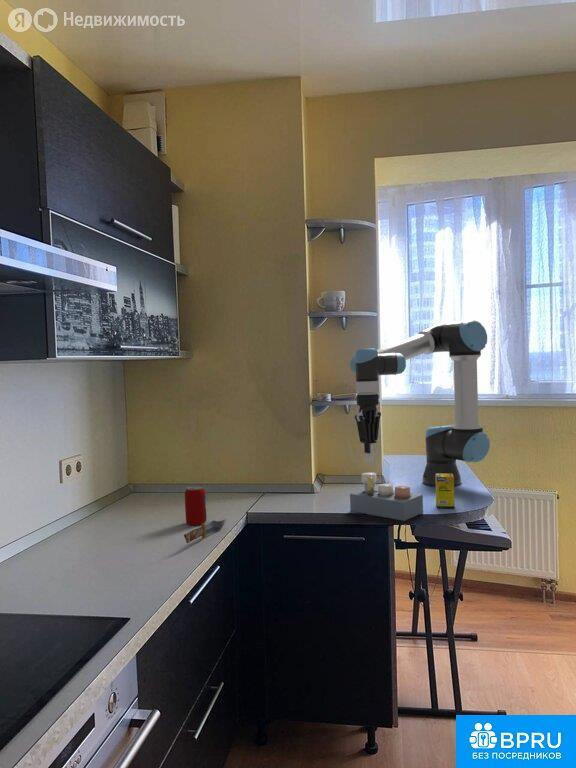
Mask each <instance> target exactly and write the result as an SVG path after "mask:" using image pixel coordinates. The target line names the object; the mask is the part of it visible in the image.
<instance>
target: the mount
mask: <svg viewBox="0 0 576 768" xmlns="http://www.w3.org/2000/svg"><path fill="white" fill-rule="evenodd" d="M374 488H375V493H374V496H368V493H365V488H362V489H360V490H357V491H354V492H351V493H349V502H350V504H349V505H350V512H353V513H358V512H361V513H360V514H364V513H366V514H365V515H369V516H376V517H382V518H386V519H387V518H388V519H393V520H397V521H402V522H405V521H407V520H409V519H410V520H411V519H412V518H414V517H416V516H418V515H421V514H422V513H423V512H424V501H423V499H424V496H423V494H421V493H413V492H410V498H406V499H402V498H396V497H395V489H393V495H390V496H381V495H379V494H378V487H374Z"/></svg>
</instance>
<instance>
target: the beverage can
mask: <svg viewBox="0 0 576 768" xmlns="http://www.w3.org/2000/svg"><path fill="white" fill-rule="evenodd" d="M206 496H207V495H206V490H205V488H204V486H203V485H190V486H189V485H188V486H186V489H185V491H184V506H185V507H184V509H185V512H184V513H185V522H186V524H188V525H190V526H201V524H202V523H203V524H205V523H206V522H207V520H208V519H207V499H206Z"/></svg>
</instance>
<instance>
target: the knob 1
mask: <svg viewBox="0 0 576 768" xmlns="http://www.w3.org/2000/svg"><path fill="white" fill-rule="evenodd" d="M368 477H373V481H374V485H375V484H377V481H378V480H377V479H378V478H377V472H363V473H361V483H362V485H364V489H365V493H368V481H367V478H368ZM375 488H376V487H374V493H375Z"/></svg>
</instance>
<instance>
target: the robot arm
mask: <svg viewBox="0 0 576 768" xmlns="http://www.w3.org/2000/svg"><path fill="white" fill-rule="evenodd" d="M487 343H488V334H487V330H486V328H485V326H484V325H483V324H482V323H481V322H479V321H477V320H471V319H470V320H469V319H466V320H458V321H447V322H442V323H439V324H437V325H434V326H431V327H429V328H426V329H424V330H420V331H419V332H418V333H417V335H415V336H411V337H408V338H406V339H403V340H400V341H397V342H395V343H392V344H389V345H386V346H384V347H380V348H378V349H377V348H357V349H356V350H355V355H353V356H352V357H351V359H350V361H349V366H350V370H351V371H352V373H354V374H355V381H356V382H355V384H356V385H355V388H356V391H355V392H356V394H357V395H356V405H357V406H359V409H358V414H357V415H356V414H355V415H354V418H355V419H354V420H355V422H356V426H357V432H358V437H359V442H360V444H363V445H364V446H363V447H364V462H365V463H371V464H372V463H374V462H375V444H376V443H377V441H378V437H379V430H380V429H379V428H380V420H381V415H382V413H381V412H380V411H377V410H378V409H377V406H378V405H379V404H380V396H379V392H380V391H379V376H393V375H395V376H396V375H400V374H402V373H404V372H405V371H406V370H405V369H406V367H407V360H409V359H413V358H414V357H417V356H421V355H423V354H424V355H431V354H434V353H442V352H446V353H447V352H449V353H448V355H449V358H450V359H451V360H452V362H453V383H454V384H453V386H454V388H453V389H454V392H453V393H454V421H455V422H454V423H453V424H450V425H449V424H448V425H440V426H431V427H428V428H427V429H426V431H425V454H426V455H425V457H426V464H425V467H424V471H423V475H422V483H423V484H425V485H427V486H428V485H429V486H433V487H436V480H435V474H453V476H454V486H457V485H460V484H461V483H462V477H461V474H460V470H459V468H458V466H457V461H463V462H466V463H479V462H481V461H482V460H484V459H485V458H486V456H487V455H488V453H489V451H490V446H491V445H490V444H491V441H490V438H489V437H488V434H486V433H485V432H484V426H483V425H482V424H481V423H480V422H479V399H478V398H479V393H478V391H479V389H478V359H479V358H480V357H481V356H482V351H483V350H484V349H485V348H486V345H487Z"/></svg>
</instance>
